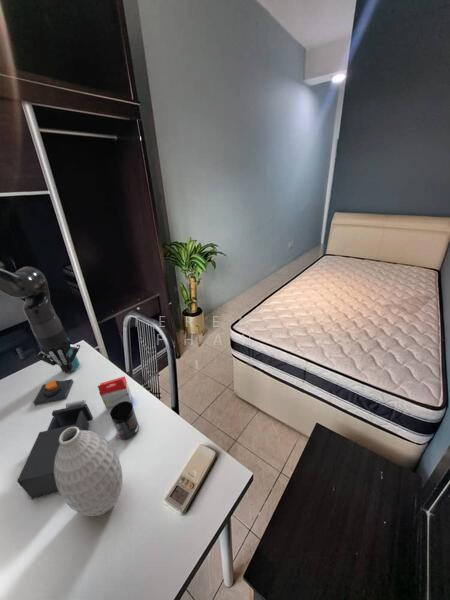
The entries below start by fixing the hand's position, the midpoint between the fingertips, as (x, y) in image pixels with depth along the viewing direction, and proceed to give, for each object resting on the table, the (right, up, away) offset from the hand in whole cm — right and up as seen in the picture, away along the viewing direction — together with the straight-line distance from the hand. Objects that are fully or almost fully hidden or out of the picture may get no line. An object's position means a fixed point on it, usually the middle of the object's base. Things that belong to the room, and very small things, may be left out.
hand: (68, 371), depth 85 cm
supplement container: (+22, -19, -2) cm, 30 cm away
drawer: (+4, -20, -3) cm, 20 cm away
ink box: (+16, -15, +6) cm, 23 cm away
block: (-14, -13, +13) cm, 23 cm away
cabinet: (+6, -25, -12) cm, 29 cm away
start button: (-14, -10, +12) cm, 21 cm away
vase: (+23, -29, -20) cm, 41 cm away
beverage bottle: (-14, -7, +25) cm, 30 cm away
